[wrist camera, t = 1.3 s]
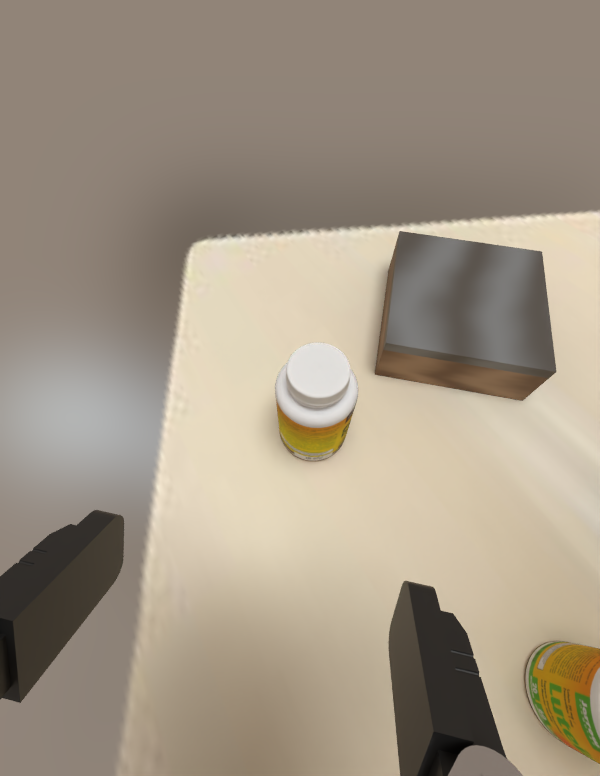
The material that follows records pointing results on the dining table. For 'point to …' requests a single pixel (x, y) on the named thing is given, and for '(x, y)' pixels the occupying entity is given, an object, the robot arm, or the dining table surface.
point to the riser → (466, 317)
